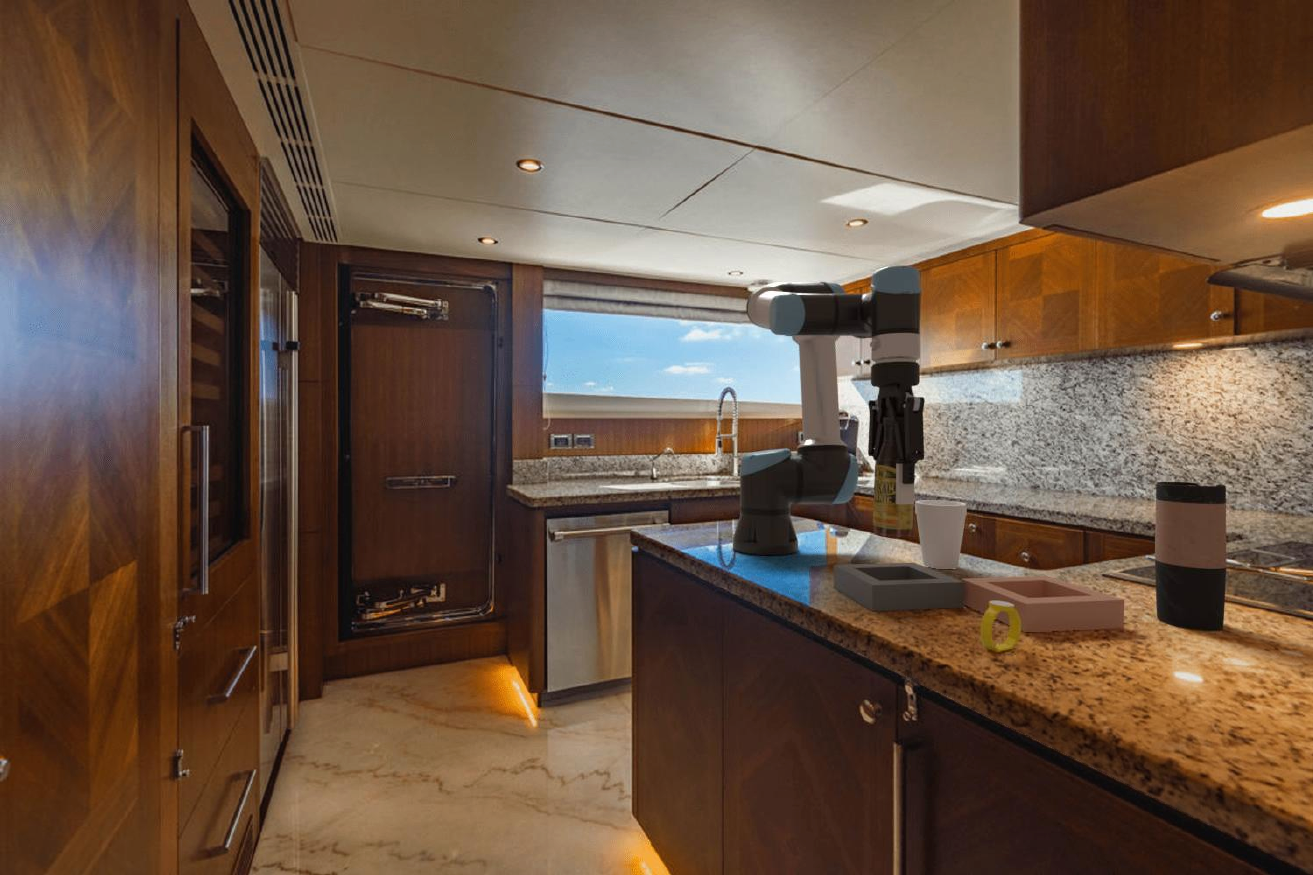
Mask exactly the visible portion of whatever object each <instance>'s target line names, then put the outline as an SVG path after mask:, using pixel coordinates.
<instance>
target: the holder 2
mask: <svg viewBox="0 0 1313 875" xmlns="http://www.w3.org/2000/svg"><path fill="white" fill-rule="evenodd" d="M960 581H962V582H963V604H964V605H963V606H965V605H966V606H965V607H967V606H968V607H967V608H969V607H970V608H969V609H971V610H974V611H976V612H978V611H980V612H983V613H985V612H986V611H987V610H988V608H989V602H990V601H1004V602H1009V603H1012V604H1014V609H1016V610H1017V612H1018V614H1019V617H1020V620H1021V632H1022V631H1023V633H1025V632H1037V633H1053V632H1052V631H1058V632H1074V631H1073V630H1076V631H1077V630H1079V631H1093V630H1094V631H1095V630H1096V631H1097V630H1113V629H1114V630H1117V629H1125V599H1124V598H1119V597H1116V596H1113V595H1110V594H1107V593H1103V592H1100V591H1096V590H1093V589H1091V588H1087V587H1085V586H1081V585H1078V584H1075V583H1071V582H1068V581H1064V580H1061V579H1058V578H1055V577H1052V576H1048V575H1035V576H1032V575H1031V576H1030V575H1029V576H1027V575H1026V576H1006V577H1005V576H1001V577H997V576H996V577H977V578H975V577H973V578H972V577H971V578H961V579H960ZM980 612H979V613H980ZM983 613H982V614H983ZM996 619H998V620H1000V621H1002V622H1001V623H1003V622H1004V623H1003V624H1005V625H1007V624H1008V626H1009V625H1010V621H1009V615H1008V613H1007V612H1006V611H1000V613H999V614H998V615H997V616H996ZM996 619H995V620H996ZM998 620H997V621H998ZM1000 621H999V622H1000ZM1067 630H1068V631H1067ZM1076 631H1075V632H1076Z"/></svg>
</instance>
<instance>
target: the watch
mask: <svg viewBox="0 0 1313 875" xmlns="http://www.w3.org/2000/svg"><path fill="white" fill-rule="evenodd" d="M1000 611H1006V612H1007V613H1008V615H1009V621H1010V626H1009V629H1008V633H1007V636H1006V638H1005V639H1004V640H1003V643H1000V644H996V645H995V643H994V641H993V640H994V639H993V637H992V636H993V625H994V622H995V620H996V619H995V618H996V616H997V615H998V614H999V613H1000ZM1021 633H1022V631H1021V620H1020V617H1019V614H1018V612H1017V610H1016V609H1014V604H1012V603H1009V602H1004V601H990V602H989V608H988V610H987V611H986V612H985V613H984V614H983V615H982V618H981V623H980V637H981V641H982V643H983V645H984V646H985V647H986V648H987V649H988V650H989V651H992V652H995V653H1001V652H1004V651H1011V650H1014V648H1015V647H1016V646H1017V644H1018V643H1019V640H1020V637H1021Z"/></svg>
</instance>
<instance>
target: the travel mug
mask: <svg viewBox="0 0 1313 875" xmlns="http://www.w3.org/2000/svg"><path fill="white" fill-rule="evenodd" d="M1154 528H1155V533H1154V534H1155V535H1154V569H1155V570H1154V571H1155V574H1154V575H1155V601H1156V602H1155V603H1156V618H1157V619H1158V620H1159V621H1160V622H1163V623H1165V624H1168V625H1172V626H1175V627H1178V628H1184V629H1188V630H1189V629H1190V630H1195V631H1206V632H1207V631H1208V632H1209V631H1210V632H1211V631H1213V632H1214V631H1221V630H1223V628H1224V622H1225V621H1224V620H1225V606H1226V602H1225V600H1226V584H1227V583H1226V582H1227V581H1226V580H1227V487H1226V485H1225V484H1219V483H1218V484H1216V485H1212V486H1211V485H1200V484H1199V483H1197V482H1191V481H1190V482H1189V481H1158V482H1156V485H1155V527H1154Z"/></svg>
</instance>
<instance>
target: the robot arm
mask: <svg viewBox="0 0 1313 875" xmlns="http://www.w3.org/2000/svg"><path fill="white" fill-rule="evenodd" d="M921 293H922V288H921V274H920V271H919V269H918V268H917V267H915V266H912V265H891V266H885V267H882V268H878V269H877V270H875V271H874V272H873V273H872V276H871V284H870V291H869V292H868V293H846V291H845V289H844V287H842V285H841V284H839V283H836V282H826V281H819V282H815V281H814V282H812V281H811V282H810V281H809V282H808V281H807V282H806V281H805V282H800V281H799V282H793V281H792V282H788V281H787V282H786V281H784V282H783V281H781V282H772V283H771V282H770V283H768V284H764V285H762V286H759V287H758V288H756V289H754V290H753V291H752V293H750V295H749V297H748V298H747V300H746V306H745V309H746V310H745V311H746V315H747V317H748V320H750V322H751V323H752V324H753V325H755V326H756V327H759V328H761V329H766V330H770V331H771V333H772V334H773V335H776V336H784V337H791V338H792V341H793V342H795V344H797V346H798V351H799V352H798V353H799V354H798V356H799V372H800V374H799V376H800V377H799V378H800V400H801V401H800V402H801V403H800V404H801V423H802V424H801V425H802V441H801V443H800V444H799V445H798V446H797V447H796V452H797V453H796V454H792V452H791V449H789V448H778V449H777V448H776V449H767V450H766V449H765V450H760V451H753V452H748V453H745V454H744V455H743V456H742V457H741V459H740V466H739V467H740V468H739V473H738V476H739V478H740V479H739V482H740V483H739V484H740V485H739V491H740V493H739V498H740V499H739V506H740V507H739V519H738V522H737V525H736V528H735V530H734V534H733V537H732V549H733V550H735V551H737V552H739V553H743V554H750V555H760V556H761V555H762V556H778V555H779V556H780V555H791V554H793V553H794V554H795V553H796V552H798V551H799V540H798V537H797V533H796V530H795V527H794V523H793V520H792V517H791V505H828V506H830V505H835V504H836V505H839V504H840V505H841V504H846V503H848V502H849V501H850V500H851V499H852V498H853V496H854V494H855V492H856V489H857V486H858V483H859V482H858V480H859V463H858V458H857V457H856V456H855V455H854V454H852V453H849V451H848V450H849V448H848V445H847V443H845V442H844V441H843V440H842V439H841V424H840V423H841V422H840V410H839V409H840V408H839V389H838V387H839V386H838V372H837V371H838V370H837V353H836V350H837V348H836V342H837V341H838V340H839V339H840V338H841V336H846V337H847V336H850V337H854V338H857V339H871V341H870V342H869V346H870V348H871V355H870V356H871V359H870V360H871V361H872V362H875V363H873V364H872V365H871V366H870V384H871V385H870V386H872V387H874V388H878V393H877V399H871V400H870V399H869V401H868V410H869V420H868V421H869V422H868V447H867V448H868V449H867V452H868V453H867V455H868V456H869V457H873V458H872V459H873V461H875V463H876V462H877V459H878V456H879V453H880V451H881V448H882V445H883V441H884V426H883V421H884V418H890V421H891V423H892V424H894V429H895V435H896V442H897V448H898V454H899V459H898V460H896V461H895V462H896V463H897V464H896V504H914V505H915V481H916V480H915V479H916V478H915V476H916V474H915V473H916V471H915V470H916V464H918V461H923V460H924V459H925V439H924V436H925V433H924V408H925V402H926V401H925V400H926V399H925V398H924V397H922V396H921V397H920V396H915V395H914V392H913V387H915V386H916V387H917V386H918V385H919V384H920V377H921V376H920V375H921V374H920V373H921V372H920V371H921V369H920V368H921V366H920V364H919V363H918V362H917V361H919V359H921V332H920V331H921V300H922V299H921V296H922V294H921Z"/></svg>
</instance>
